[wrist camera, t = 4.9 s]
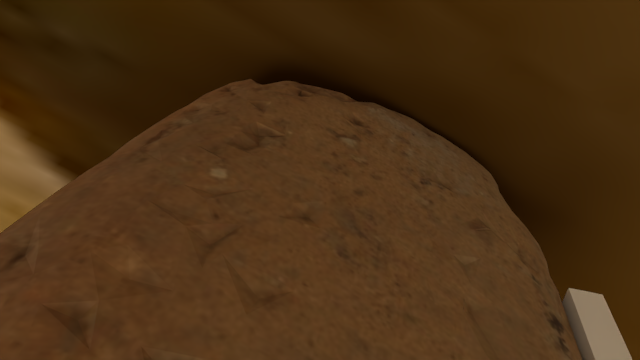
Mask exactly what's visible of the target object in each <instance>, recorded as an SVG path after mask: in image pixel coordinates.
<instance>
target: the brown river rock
mask: <svg viewBox="0 0 640 360" xmlns="http://www.w3.org/2000/svg"><path fill="white" fill-rule="evenodd" d="M0 360H582V357H581V355H580V352H579V349H578V347H577V344H576V340H575V337H574V334H573V331H572V329H571V326H570V323H569V321H568V318H567V315H566V313H565V310H564V307H563V305H562V301H561V298H560V295H559V292H558V290H557V288H556V286H555V284H554V283H553V281H552V279H551V277H550V274H549V270H548V266H547V261H546V259H545V257H544V255H543V253H542V250H541V248H540V246H539V244H538V243H537V241H536V240H535V239H534V237H533V236H532V234H531V233H530V232H529V230H528V229H527V228H526V226H525V225H524V224H523V223H522V222H521V221H520V219H519V218H518V217H517V216H516V215H515V214H514V213H513V211H512V210H511V209H510V207H509V206H508V204H507V203H506V201H505V200H504V198H503V197H502V195H501V194H500V192H499V188H498V185H497V183H496V182H495V180H494V178H493V177H492V175H491V173H490V172H489V171H487V170H486V169H485V168H484V167H483V166H482V165H481V164H479V163H478V162H477V161H476V160H474V159H473V158H472V157H471V156H469V155H468V154H467V153H466V152H464V151H463V150H461V149H460V148H458V147H457V146H455V145H454V144H452V143H451V142H449V141H448V140H446V139H445V138H443V137H442V136H440V135H438V134H436V133H434V132H432V131H430V130H429V129H427V128H426V127H424V126H423V125H421V124H420V123H418V122H417V121H415V120H414V119H412V118H410V117H407V116H405V115H403V114H400V113H397V112H395V111H392V110H389V109H387V108H385V107H382V106H380V105H378V104H376V103H371V102H357V101H356V100H354V99H352V98H350V97H349V96H347V95H345V94H343V93H340V92H336V91H332V90H328V89H324V88H320V87H316V86H311V85H305V84H299V83H298V82H293V81H280V82H275V83H270V84H265V85H261V84H259V83H257V82H255V81H253V80H251V79H247V80H242V81H237V82H232V83H230V84H227V85H225V86H223V87H220V88H218V89H216V90H213V91H211V92H209V93H206V94H204V95H203V96H201V97H200V98H198V99H197V100H195V101H194V102H192V103H190V104H189V105H187V106H185V107H183V108H181V109H179V110H177V111H175V112H174V113H172V114H170V115H169V116H167V117H166V118H164V119H162V120H161V121H159V122H157V123H156V124H154V125H153V126H151V127H150V128H148V129H147V130H145V131H144V132H142V133H141V134H139V135H138V136H136V137H135V138H133V139H132V140H130V141H129V142H127V143H126V144H125V145H123V146H122V147H121V148H120V149H119V150H117V151H116V152H115V153H114V154H112V155H111V156H110V157H108V158H107V159H105V160H104V161H102V162H101V163H99V164H97V165H96V166H94V167H93V168H91V169H89V170H88V171H86V172H85V173H83V174H82V175H80V176H79V177H77V178H76V179H74V180H73V181H72V182H70V183H69V184H67V185H66V186H64V187H63V188H61V189H60V190H58V191H57V192H56V193H54V194H53V195H51V196H50V197H49V198H47V199H46V200H45V201H43V202H42V203H41V204H39V205H38V206H36V207H35V208H34V209H32V210H31V211H30V212H28V213H27V214H26V215H24V216H23V217H22V218H20V219H19V220H17V221H16V222H15V223H13V224H12V225H11V226H9V227H8V228H7V229H5V230H4V231H3V232H2V233H0Z"/></svg>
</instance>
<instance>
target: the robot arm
mask: <svg viewBox="0 0 640 360" xmlns="http://www.w3.org/2000/svg"><path fill="white" fill-rule="evenodd" d="M562 305H563V307H564V310H565V313H566V315H567V318H568V321H569V323H570V326H571V329H572V331H573V334H574V337H575V340H576V344H577V347H578V349H579V352H580V355H581V357H582V360H632V358H631V356H630V353H629V351H628V349H627V347H626V345H625V342H624V340H623V338H622V336H621V334H620V332H619V329H618V327H617V325H616V323H615V321H614V319H613V316H612V314H611V312H610V310H609V308H608V305H607V303H606V301H605V299H604V297H603V295H602V294H597V293H592V292H587V291H582V290H577V289H572V288H568V290H567V293H566V295H565V297H564V299H563V302H562Z"/></svg>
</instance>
